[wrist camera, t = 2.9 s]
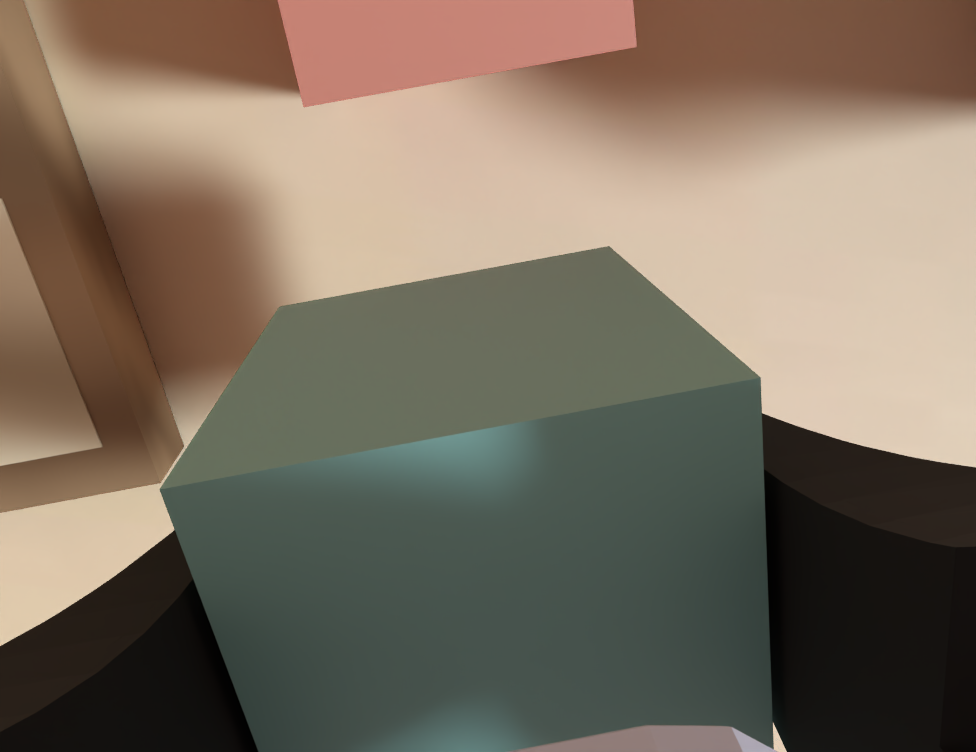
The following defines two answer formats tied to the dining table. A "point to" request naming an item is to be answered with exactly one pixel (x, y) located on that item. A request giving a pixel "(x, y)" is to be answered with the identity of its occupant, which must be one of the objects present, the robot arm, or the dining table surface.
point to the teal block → (484, 516)
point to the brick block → (439, 40)
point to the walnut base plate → (64, 311)
